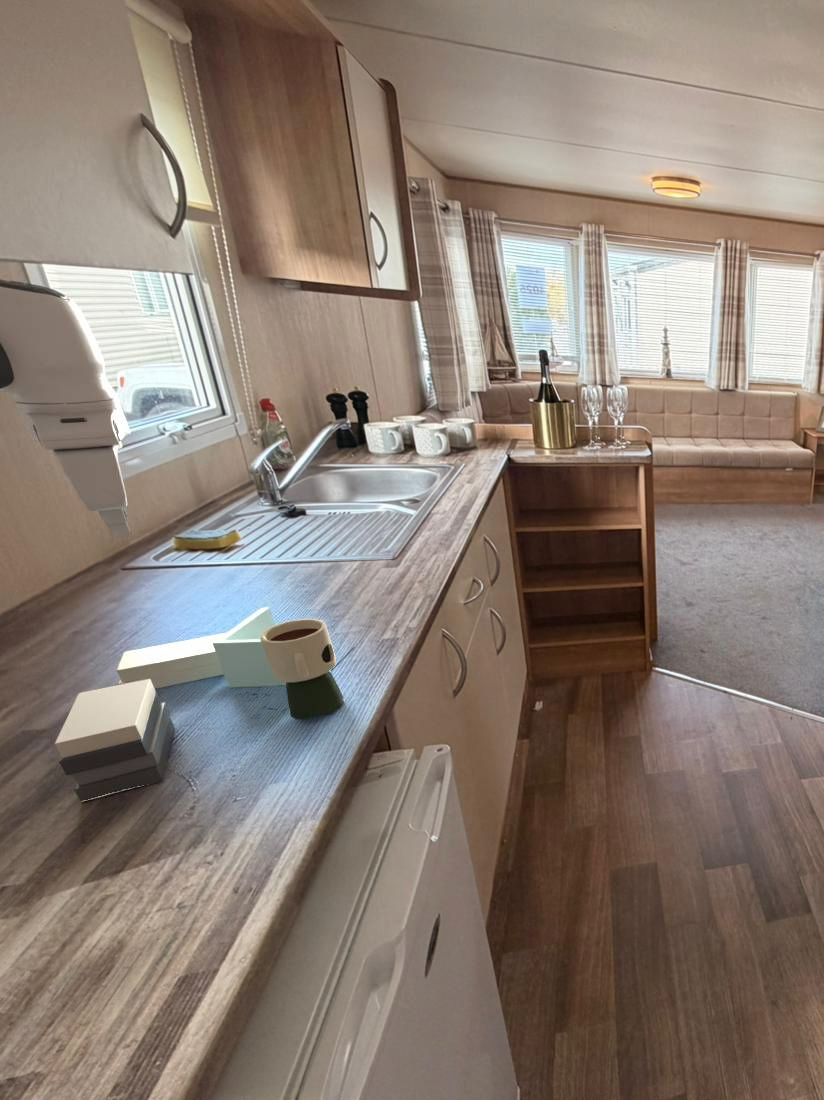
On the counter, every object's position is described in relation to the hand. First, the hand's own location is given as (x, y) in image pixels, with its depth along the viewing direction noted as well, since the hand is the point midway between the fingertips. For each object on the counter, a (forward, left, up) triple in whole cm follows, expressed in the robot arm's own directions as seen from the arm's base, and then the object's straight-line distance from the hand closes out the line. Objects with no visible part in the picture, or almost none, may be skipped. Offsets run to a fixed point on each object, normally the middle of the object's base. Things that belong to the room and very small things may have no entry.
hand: (120, 526), depth 86 cm
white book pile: (0, +1, -24) cm, 24 cm away
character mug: (+16, -21, -24) cm, 36 cm away
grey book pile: (-3, -22, -24) cm, 33 cm away
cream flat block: (-3, -22, -18) cm, 28 cm away
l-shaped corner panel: (+14, -5, -24) cm, 28 cm away
